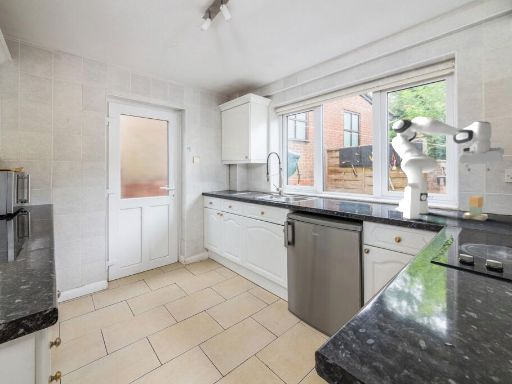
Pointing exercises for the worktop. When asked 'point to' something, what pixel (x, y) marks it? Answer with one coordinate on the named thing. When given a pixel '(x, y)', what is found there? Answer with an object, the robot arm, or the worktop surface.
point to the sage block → (475, 210)
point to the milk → (411, 201)
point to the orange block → (476, 201)
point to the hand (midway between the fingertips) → (478, 171)
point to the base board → (475, 216)
